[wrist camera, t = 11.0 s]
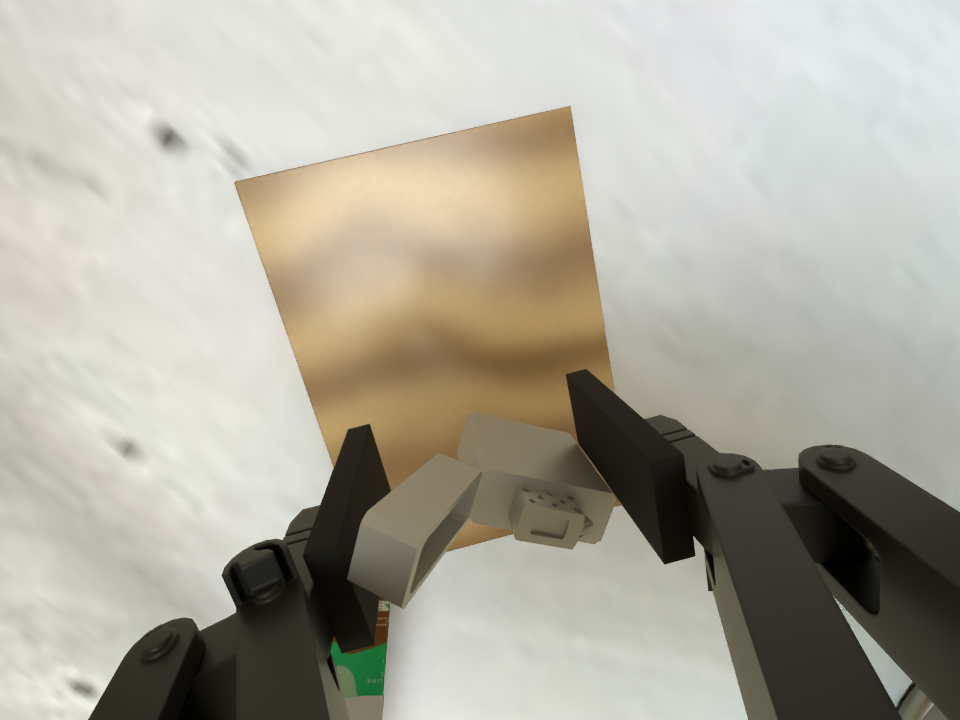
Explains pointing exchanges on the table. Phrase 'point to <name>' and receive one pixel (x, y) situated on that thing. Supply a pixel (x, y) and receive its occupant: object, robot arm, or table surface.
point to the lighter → (481, 503)
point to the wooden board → (436, 286)
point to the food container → (365, 671)
